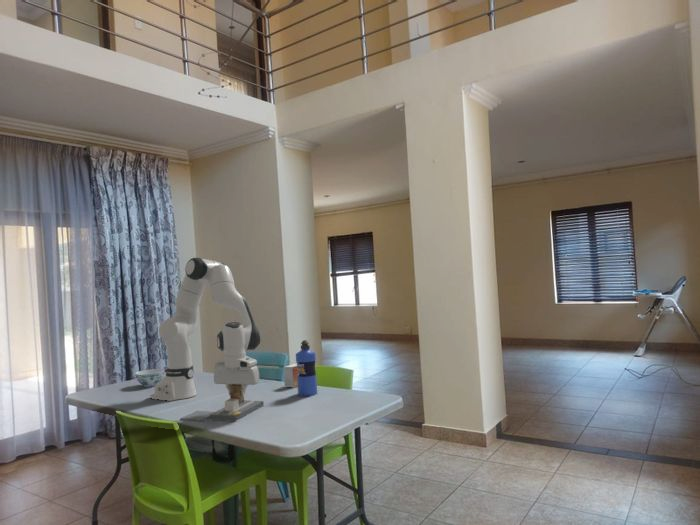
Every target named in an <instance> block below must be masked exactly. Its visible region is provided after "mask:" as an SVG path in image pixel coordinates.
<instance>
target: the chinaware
mask: <svg viewBox="0 0 700 525" xmlns="http://www.w3.org/2000/svg"><path fill="white" fill-rule="evenodd" d="M164 370H165V369H163V368H153V369H152V368H151V369H144V370H139V371H136V372H134V376H135V379H136V381H137V382H138V383H139V384H141V385H142V386H143V387H144V388H152V387H151V386H153V387H155V385H156V384H157V383H158V382H160V381H161V380H162V379H163V378H164V374H165V371H164Z"/></svg>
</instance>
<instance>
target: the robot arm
mask: <svg viewBox="0 0 700 525" xmlns="http://www.w3.org/2000/svg"><path fill="white" fill-rule="evenodd" d="M184 271H185V276H184V277H183V280H182V281H181V284H180V287H179V290H178V292H177V295H176V298H175V301H174V303H175V314H174V316H173V317H169V318H167V319H166V318H165V320H163V321H162V322H161V323H160V325H159V327H158V334H159V336H160V338H162V339H163V342H164V344H165V350H166V352H167V353H166V354H167V364H168V365H167V367H168V368H166V369H164V373H165V376H163V377H162V379H161V380H160V381H159V382H158V383H157V384H156V386H154V393H153V394H151V395H150V396H149V399H150V398H152V399H153V400H157V399H159V400H158V401H165V400H167V401H166V402H169V401H170V402H171V401H176V400H183V399H189V398H192V397H195V396H196V395H198V393H197V391H196V386H195V379H194V365H193V356H192V349H191V347H190V345H189V343H188V340H187V337H189V336H191V335H193V334H194V332H196V330H197V327H198V325H197V315H198V308H199V305H200V302H201V300H202V296H203V293H204V290H205V287H206V285H207V284H209V289H210V290H209V291H210V295H211V299H212V301H213V302H214V303H215V304H217V305H218V306H221V307H223V308H227V309H231V310H235V311H236V312H238V313H239V315H240V318H241V319H242V320H241V321H242V323H241V322H236V321H233V322H232V321H231V322H227V323H226V324H224V326H223V330H220V331H219V333H217V335H216V340H217V341H216V342H217V344H216V345H217V346H216V347H217V348H218V349H219V351H221V352H224V359H223V360H224V361H216V362H215V363H214V364H213V365H214V366H213V368H214V373H213V382H214V384H215V385H225V388H226V389H227V391H228V395H229V396H230V385H232V384H238V385H242V387H243V389H242V390H241V391H240V395H244V396H245V395H246V389H247V388H248V386H249V385H250V386H256V385H257V384H259V382H260V372H259V371H260V370H259V367H258V366H257V364H258V360H257V359H255V358H253V357H250V356H248V355H247V353H246V351H252V350H253V351H254V350H255V349H257V348H258V347H259V345H260V344H261V335H260V331H259V329H258V327H257V325H256V323H255V321H254V317H253V316H252V312H251V310H250V307H249V304H248V302H247V300H246V298H245V297H244V295H243V294H240V293H239V291H238V290H237V289H236V285H235V280H234V277H233V273H232V271H231V268H230V266H228V265H227V264H225V263H223V262H219V261H216V260H213V259H207V258H206V259H205V258H201V257H193V258H190V259H189V260H188V261H187V263H186V265H185V269H184Z"/></svg>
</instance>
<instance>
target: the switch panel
mask: <svg viewBox="0 0 700 525" xmlns="http://www.w3.org/2000/svg"><path fill="white" fill-rule="evenodd" d="M264 404H265V403H264V401H263V400H245V399H244V403H242V404H240V405H239V408H237V409H235V410H233V411H231V412H228V411H225V406H224V407H223V408H221V409H219V410H217V411H213V412H214V413H212V414H210V418H209V420H210V419H212V420H211V421H213V420H214V421H224V420H229V421H231V422H237V421H238V419H239V420H240V418H241V419H242V418H244V417H245V416H248V415H249V413H250V414H251V413H253V412H255V411H257V410H258V409H260V408H262V407H264ZM247 414H248V415H247ZM236 420H237V421H236ZM229 421H228V422H229Z"/></svg>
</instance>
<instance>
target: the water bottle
mask: <svg viewBox="0 0 700 525" xmlns="http://www.w3.org/2000/svg"><path fill="white" fill-rule="evenodd" d="M309 343H310V342H309V341H308V340H307V339H305V340H302V341H301V342H300V351H298V352H297V353H295V362H296V364H297V368H298V373H297V384H298V386H297V395H298V396H299V395H302V396H301V397H311V396H310V395H313V396H316V395H318V382H317V380H318V379H317V373H316V372H317V371H316V360H317V358H316V356H317V355H316V352H315V351H313V350H311V349H310V348H311V347H310V344H309ZM315 394H316V395H315Z"/></svg>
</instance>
